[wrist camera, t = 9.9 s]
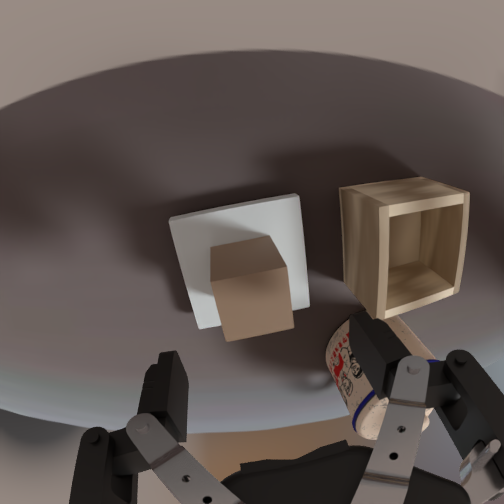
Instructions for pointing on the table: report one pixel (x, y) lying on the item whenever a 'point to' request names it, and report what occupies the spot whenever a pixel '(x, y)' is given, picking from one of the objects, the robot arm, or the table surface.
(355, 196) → the box
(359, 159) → the table surface
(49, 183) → the table surface
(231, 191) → the table surface
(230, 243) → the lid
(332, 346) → the teacup with lid
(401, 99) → the table surface
